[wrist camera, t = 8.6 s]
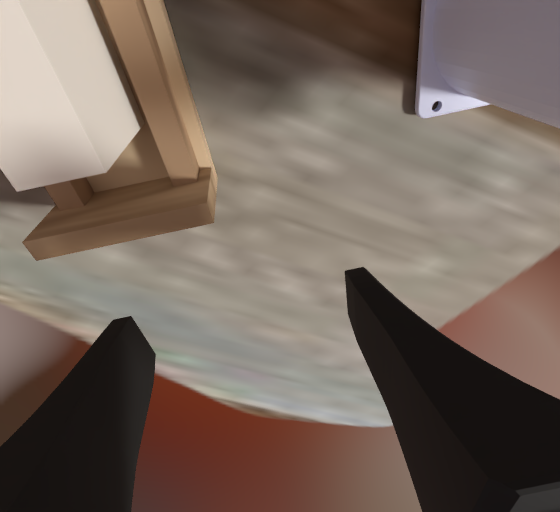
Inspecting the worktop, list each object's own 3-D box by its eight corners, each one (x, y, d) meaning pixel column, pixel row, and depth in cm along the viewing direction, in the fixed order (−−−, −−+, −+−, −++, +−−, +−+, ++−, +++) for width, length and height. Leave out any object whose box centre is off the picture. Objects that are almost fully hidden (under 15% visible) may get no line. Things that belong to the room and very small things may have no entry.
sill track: (-105, -93, 12) (-279, -147, 8) (119, -143, 12) (60, -225, 8) (77, 207, 19) (36, 260, 15) (217, 177, 19) (213, 222, 15)
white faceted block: (60, -84, 12) (-60, -151, 7) (144, 123, 16) (106, 172, 11) (-31, -63, 12) (-215, -116, 7) (77, 138, 16) (9, 193, 11)
